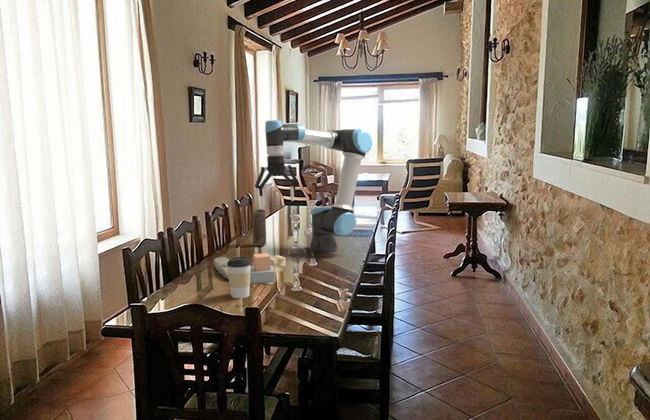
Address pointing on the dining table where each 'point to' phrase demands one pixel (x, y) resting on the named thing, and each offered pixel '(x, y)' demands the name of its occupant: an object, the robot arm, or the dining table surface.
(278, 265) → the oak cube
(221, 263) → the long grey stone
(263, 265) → the terracotta cube
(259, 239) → the candle
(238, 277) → the coffee cup
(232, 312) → the dining table surface
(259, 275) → the slate base
